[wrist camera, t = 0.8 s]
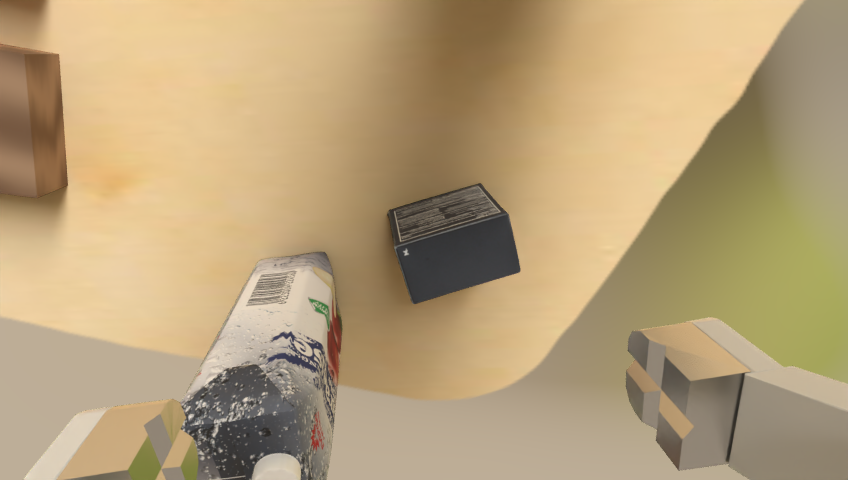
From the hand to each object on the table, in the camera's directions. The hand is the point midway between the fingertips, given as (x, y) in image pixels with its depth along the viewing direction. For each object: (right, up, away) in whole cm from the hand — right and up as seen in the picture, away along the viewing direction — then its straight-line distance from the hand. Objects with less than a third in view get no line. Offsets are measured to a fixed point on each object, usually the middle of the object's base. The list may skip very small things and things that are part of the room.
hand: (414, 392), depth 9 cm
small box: (+2, +5, +44) cm, 44 cm away
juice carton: (-14, -3, +45) cm, 47 cm away
